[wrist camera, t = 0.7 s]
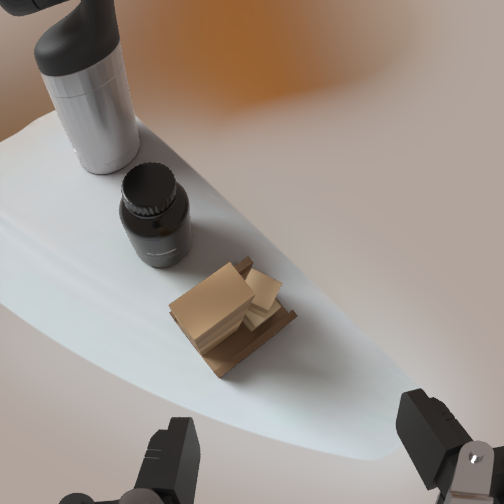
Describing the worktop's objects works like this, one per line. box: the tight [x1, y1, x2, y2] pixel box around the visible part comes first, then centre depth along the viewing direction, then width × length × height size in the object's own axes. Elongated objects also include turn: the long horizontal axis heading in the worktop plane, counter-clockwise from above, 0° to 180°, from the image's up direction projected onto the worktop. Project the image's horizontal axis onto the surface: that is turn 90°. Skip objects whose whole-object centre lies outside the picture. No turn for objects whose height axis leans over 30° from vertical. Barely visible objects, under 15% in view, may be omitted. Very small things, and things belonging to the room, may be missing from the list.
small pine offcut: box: [245, 268, 282, 317], centre depth 30 cm, size 3×3×3 cm
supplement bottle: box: [119, 162, 192, 268], centre depth 31 cm, size 7×7×12 cm
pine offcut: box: [242, 299, 282, 332], centre depth 32 cm, size 4×3×4 cm
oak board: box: [169, 262, 256, 356], centre depth 26 cm, size 2×4×15 cm, turn 129°
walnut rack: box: [169, 257, 297, 378], centre depth 33 cm, size 8×10×3 cm
